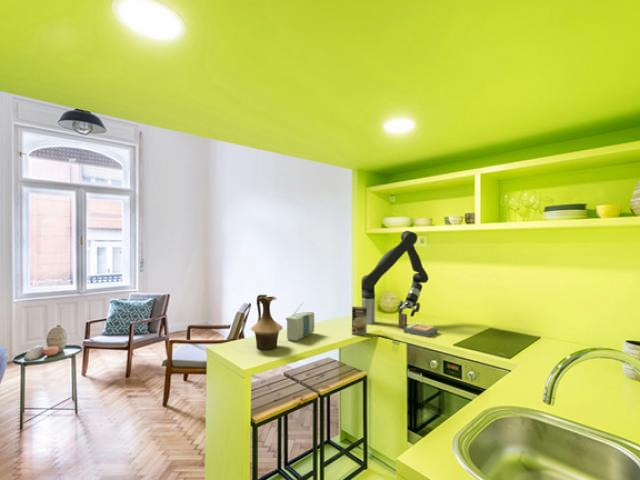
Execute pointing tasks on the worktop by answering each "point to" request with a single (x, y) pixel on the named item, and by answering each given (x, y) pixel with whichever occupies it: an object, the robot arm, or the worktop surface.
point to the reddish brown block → (402, 320)
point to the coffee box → (359, 321)
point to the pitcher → (266, 325)
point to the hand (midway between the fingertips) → (405, 315)
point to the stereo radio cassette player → (300, 325)
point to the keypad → (417, 332)
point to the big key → (423, 328)
